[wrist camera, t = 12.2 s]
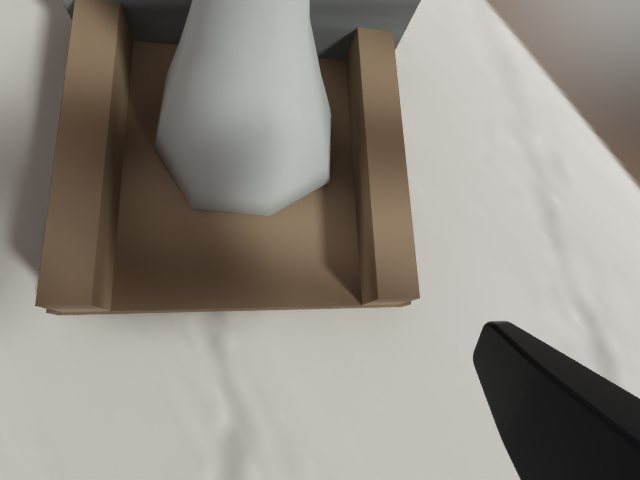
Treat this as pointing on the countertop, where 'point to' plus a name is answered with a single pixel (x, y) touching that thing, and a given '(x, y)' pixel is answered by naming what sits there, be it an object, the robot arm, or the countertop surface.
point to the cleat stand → (216, 226)
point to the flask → (245, 107)
